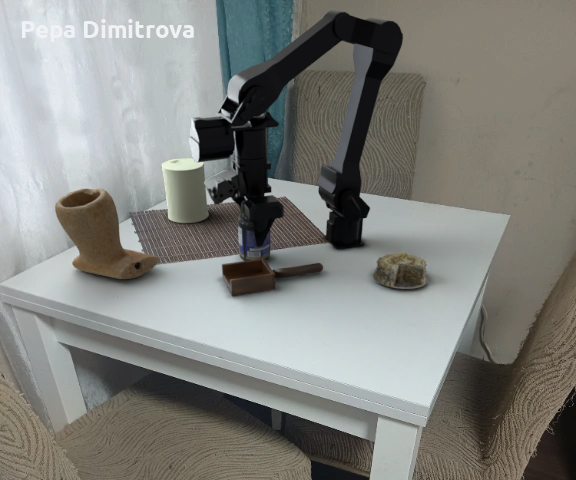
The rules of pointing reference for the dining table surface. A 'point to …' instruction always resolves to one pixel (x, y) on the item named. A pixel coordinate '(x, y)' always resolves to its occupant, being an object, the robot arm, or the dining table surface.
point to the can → (185, 190)
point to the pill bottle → (250, 240)
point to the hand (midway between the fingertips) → (254, 239)
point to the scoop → (260, 275)
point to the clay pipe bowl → (99, 235)
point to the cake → (401, 271)
